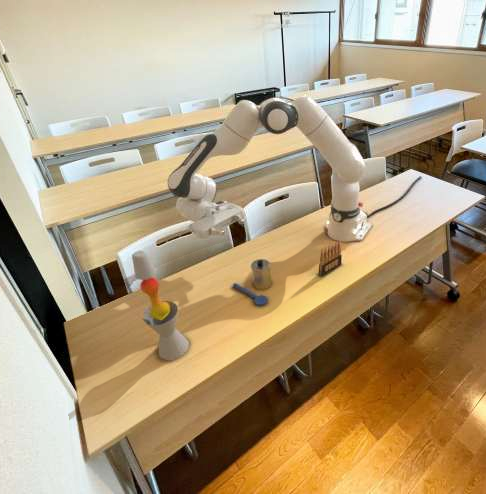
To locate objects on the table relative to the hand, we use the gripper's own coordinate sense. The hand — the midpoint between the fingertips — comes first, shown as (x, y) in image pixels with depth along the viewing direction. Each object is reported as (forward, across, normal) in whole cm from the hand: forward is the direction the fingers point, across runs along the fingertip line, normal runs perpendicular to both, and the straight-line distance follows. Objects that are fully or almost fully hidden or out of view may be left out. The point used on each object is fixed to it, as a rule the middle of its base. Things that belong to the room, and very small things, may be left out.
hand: (233, 227), depth 118 cm
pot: (+12, 0, +20) cm, 23 cm away
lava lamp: (+11, -37, +20) cm, 44 cm away
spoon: (+13, -7, +20) cm, 25 cm away
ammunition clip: (+27, +22, +20) cm, 40 cm away
